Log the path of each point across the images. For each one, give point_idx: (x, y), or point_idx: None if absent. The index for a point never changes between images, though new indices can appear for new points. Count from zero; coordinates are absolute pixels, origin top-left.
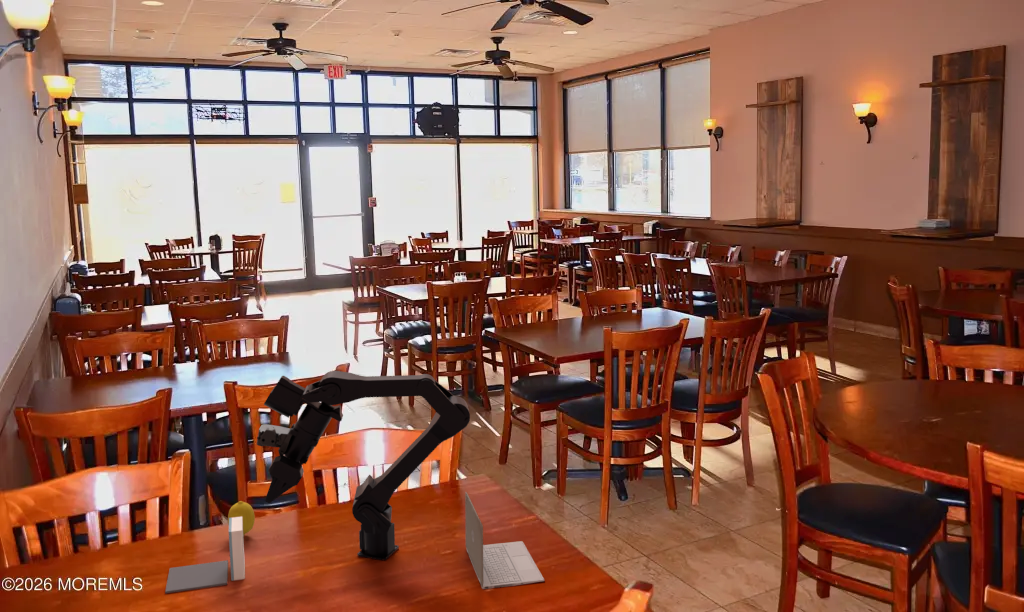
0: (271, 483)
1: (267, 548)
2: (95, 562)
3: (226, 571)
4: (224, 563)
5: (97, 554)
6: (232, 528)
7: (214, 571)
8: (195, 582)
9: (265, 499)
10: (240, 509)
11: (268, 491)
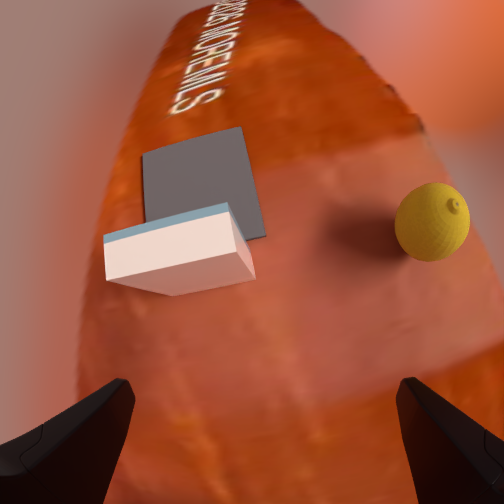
0: (15, 441)
1: (338, 320)
2: (285, 34)
3: None
4: (248, 231)
5: (314, 31)
6: (126, 241)
7: None
8: (164, 194)
9: (111, 382)
10: (427, 214)
11: (65, 411)
